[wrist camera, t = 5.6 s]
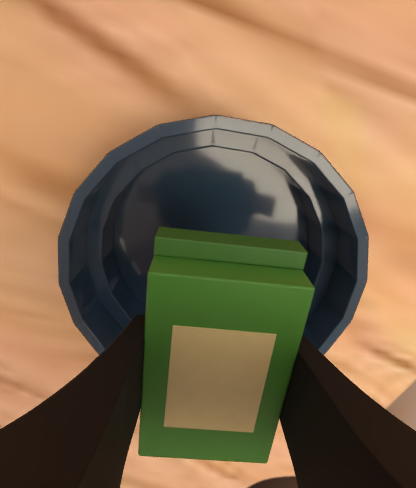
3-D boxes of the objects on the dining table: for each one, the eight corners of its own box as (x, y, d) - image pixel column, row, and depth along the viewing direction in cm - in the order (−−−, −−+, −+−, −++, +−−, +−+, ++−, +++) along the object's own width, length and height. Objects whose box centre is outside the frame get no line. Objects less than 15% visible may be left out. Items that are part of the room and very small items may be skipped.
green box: (251, 401, 14) (264, 477, 11) (151, 394, 14) (136, 469, 11) (290, 229, 11) (322, 269, 8) (162, 216, 11) (147, 252, 8)
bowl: (327, 321, 21) (364, 378, 16) (127, 349, 21) (106, 412, 17) (323, 98, 16) (374, 87, 11) (62, 142, 16) (7, 150, 12)
